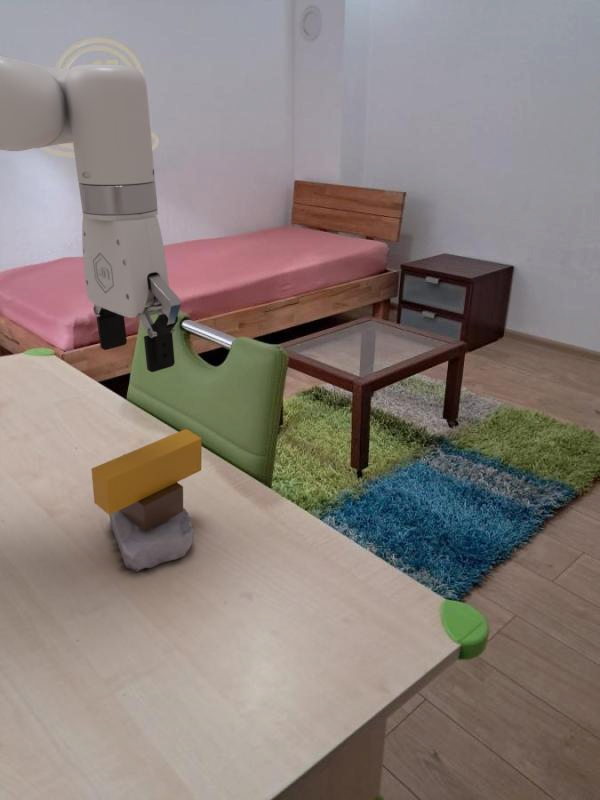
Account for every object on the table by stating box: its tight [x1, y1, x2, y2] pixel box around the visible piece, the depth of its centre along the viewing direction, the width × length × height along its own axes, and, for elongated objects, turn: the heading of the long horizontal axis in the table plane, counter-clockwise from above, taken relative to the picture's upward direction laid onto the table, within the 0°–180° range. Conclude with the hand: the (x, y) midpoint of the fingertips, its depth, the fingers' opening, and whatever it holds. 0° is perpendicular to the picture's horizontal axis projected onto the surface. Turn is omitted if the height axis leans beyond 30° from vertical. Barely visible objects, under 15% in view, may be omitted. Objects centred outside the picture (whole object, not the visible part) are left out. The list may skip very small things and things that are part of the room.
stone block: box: [108, 507, 195, 573], centre depth 82 cm, size 12×5×10 cm
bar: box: [91, 428, 203, 516], centre depth 79 cm, size 3×14×5 cm, turn 138°
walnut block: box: [119, 482, 184, 532], centre depth 81 cm, size 6×6×4 cm
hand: (136, 357), depth 72 cm, fingers open, 9 cm apart
